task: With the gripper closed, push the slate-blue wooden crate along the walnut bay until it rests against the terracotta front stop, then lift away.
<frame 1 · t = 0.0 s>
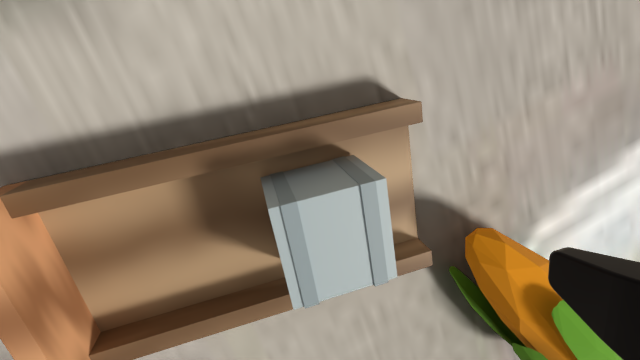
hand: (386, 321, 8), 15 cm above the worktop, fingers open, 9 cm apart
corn: (500, 282, 30), on the worktop
crate: (326, 225, 19), point 3 cm above the worktop, slide at 0.0 cm
bay: (255, 219, 22), on the worktop
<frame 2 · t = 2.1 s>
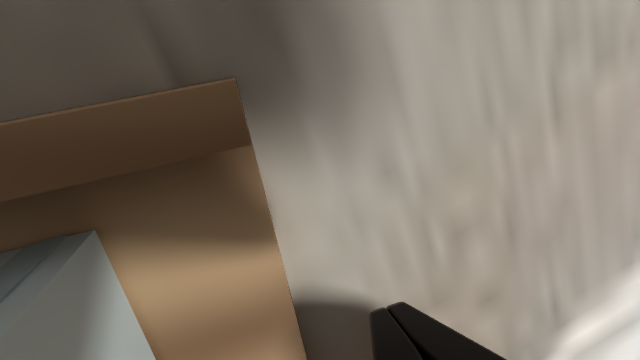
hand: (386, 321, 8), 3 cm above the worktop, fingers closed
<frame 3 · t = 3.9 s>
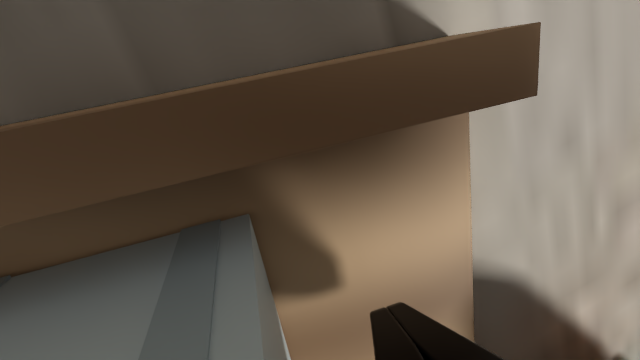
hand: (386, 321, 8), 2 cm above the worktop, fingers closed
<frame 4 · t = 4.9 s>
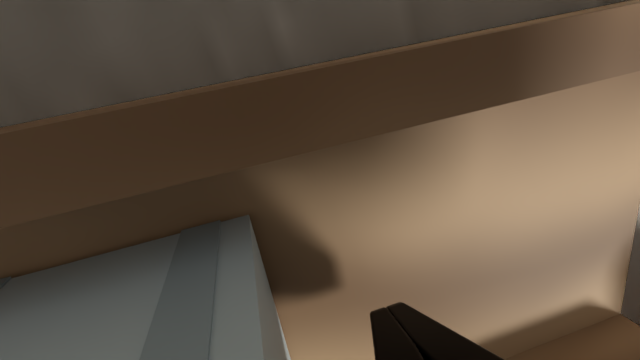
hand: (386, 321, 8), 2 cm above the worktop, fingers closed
bay: (288, 297, 9), on the worktop
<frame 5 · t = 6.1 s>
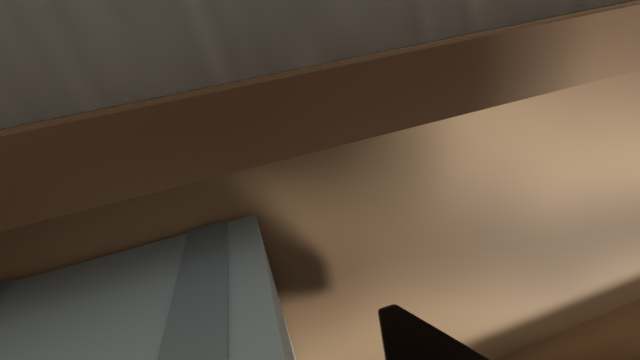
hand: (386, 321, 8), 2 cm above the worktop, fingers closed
bay: (441, 247, 10), on the worktop
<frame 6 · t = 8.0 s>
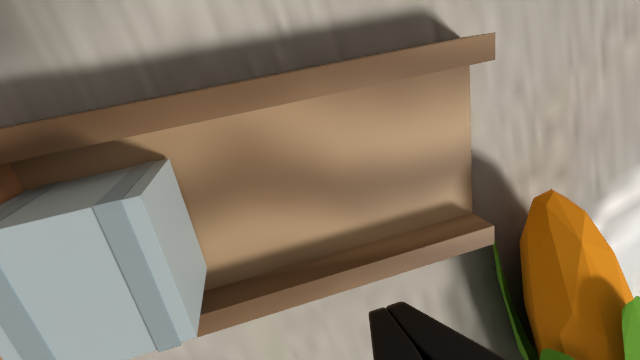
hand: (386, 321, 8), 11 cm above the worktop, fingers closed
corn: (527, 284, 25), on the worktop
crate: (105, 260, 14), point 3 cm above the worktop, slide at 11.8 cm
bay: (282, 186, 18), on the worktop
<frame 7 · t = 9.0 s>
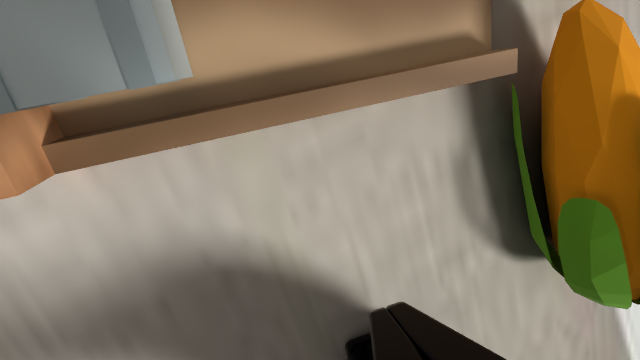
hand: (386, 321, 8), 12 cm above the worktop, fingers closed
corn: (542, 161, 23), on the worktop
crate: (68, 4, 11), point 3 cm above the worktop, slide at 11.8 cm
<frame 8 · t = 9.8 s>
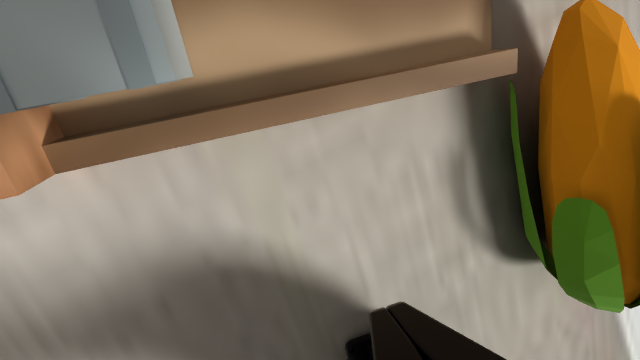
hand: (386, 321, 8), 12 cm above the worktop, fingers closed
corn: (539, 162, 23), on the worktop
crate: (69, 4, 11), point 3 cm above the worktop, slide at 11.8 cm
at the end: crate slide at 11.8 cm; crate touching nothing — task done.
